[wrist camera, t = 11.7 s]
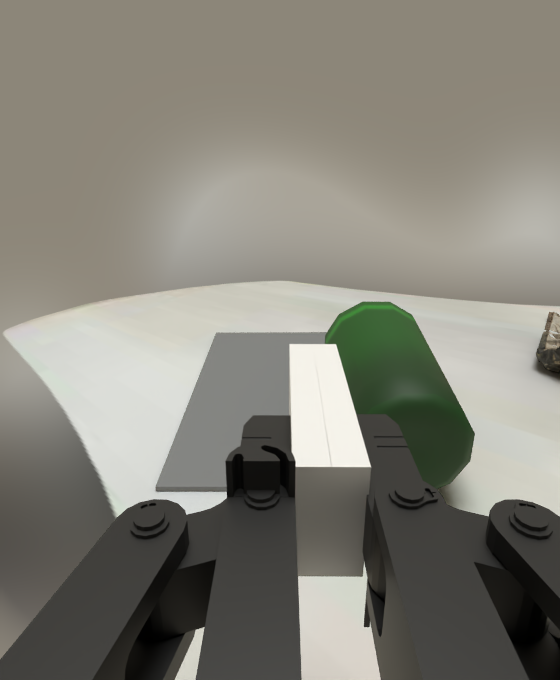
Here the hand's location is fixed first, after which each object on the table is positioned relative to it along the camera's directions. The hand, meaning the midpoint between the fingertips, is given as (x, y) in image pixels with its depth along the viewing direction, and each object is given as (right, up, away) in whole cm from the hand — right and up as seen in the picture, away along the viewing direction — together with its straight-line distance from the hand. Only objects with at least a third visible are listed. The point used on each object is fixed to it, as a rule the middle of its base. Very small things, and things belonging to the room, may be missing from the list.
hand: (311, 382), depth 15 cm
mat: (0, -4, +38) cm, 38 cm away
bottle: (+8, -6, +17) cm, 20 cm away
